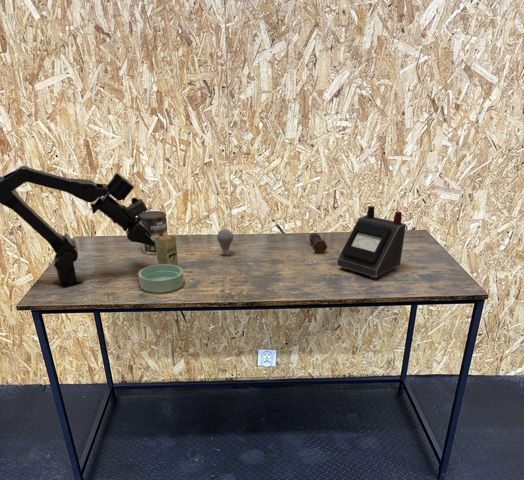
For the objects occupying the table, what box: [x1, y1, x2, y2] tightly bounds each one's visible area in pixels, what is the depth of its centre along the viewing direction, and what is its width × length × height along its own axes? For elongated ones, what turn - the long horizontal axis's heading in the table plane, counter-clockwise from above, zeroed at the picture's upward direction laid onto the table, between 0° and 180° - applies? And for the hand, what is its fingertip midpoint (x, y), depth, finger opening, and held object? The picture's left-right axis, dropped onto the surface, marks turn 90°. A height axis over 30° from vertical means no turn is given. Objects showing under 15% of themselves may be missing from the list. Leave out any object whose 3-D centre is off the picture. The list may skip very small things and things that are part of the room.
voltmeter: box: [336, 205, 407, 280], centre depth 173 cm, size 16×16×20 cm
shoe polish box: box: [155, 234, 179, 267], centre depth 174 cm, size 5×5×12 cm
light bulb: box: [216, 228, 234, 256], centre depth 188 cm, size 6×6×10 cm
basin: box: [138, 264, 185, 294], centre depth 165 cm, size 14×14×4 cm
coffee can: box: [139, 210, 169, 255], centre depth 192 cm, size 10×10×14 cm
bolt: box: [308, 232, 328, 255], centre depth 197 cm, size 6×5×15 cm
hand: (152, 240), depth 170 cm, fingers open, 9 cm apart
